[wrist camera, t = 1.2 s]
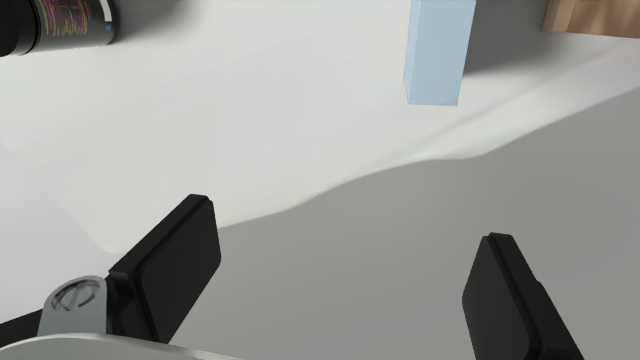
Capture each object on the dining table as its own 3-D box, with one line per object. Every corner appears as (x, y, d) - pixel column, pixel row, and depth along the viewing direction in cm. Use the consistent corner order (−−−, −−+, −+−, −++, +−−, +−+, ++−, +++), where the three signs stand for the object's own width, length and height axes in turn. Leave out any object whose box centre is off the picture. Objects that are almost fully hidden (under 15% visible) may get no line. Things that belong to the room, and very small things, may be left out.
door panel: (420, -84, 24) (437, -140, 16) (461, -87, 24) (503, -147, 15) (403, 78, 30) (408, 104, 21) (436, 79, 29) (456, 106, 21)
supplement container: (49, -19, 32) (-86, -32, 23) (102, -38, 30) (-22, -61, 21) (83, 52, 35) (-25, 65, 26) (133, 38, 33) (36, 47, 24)
